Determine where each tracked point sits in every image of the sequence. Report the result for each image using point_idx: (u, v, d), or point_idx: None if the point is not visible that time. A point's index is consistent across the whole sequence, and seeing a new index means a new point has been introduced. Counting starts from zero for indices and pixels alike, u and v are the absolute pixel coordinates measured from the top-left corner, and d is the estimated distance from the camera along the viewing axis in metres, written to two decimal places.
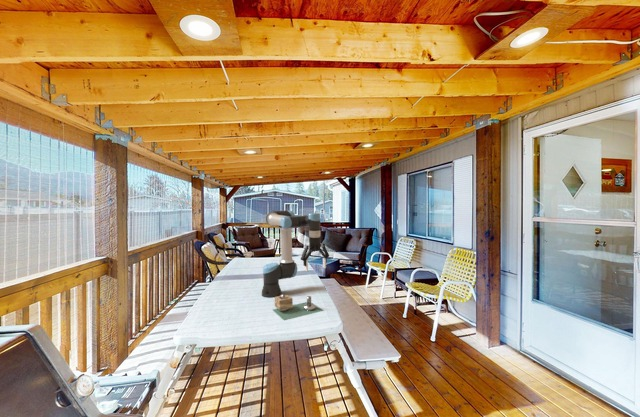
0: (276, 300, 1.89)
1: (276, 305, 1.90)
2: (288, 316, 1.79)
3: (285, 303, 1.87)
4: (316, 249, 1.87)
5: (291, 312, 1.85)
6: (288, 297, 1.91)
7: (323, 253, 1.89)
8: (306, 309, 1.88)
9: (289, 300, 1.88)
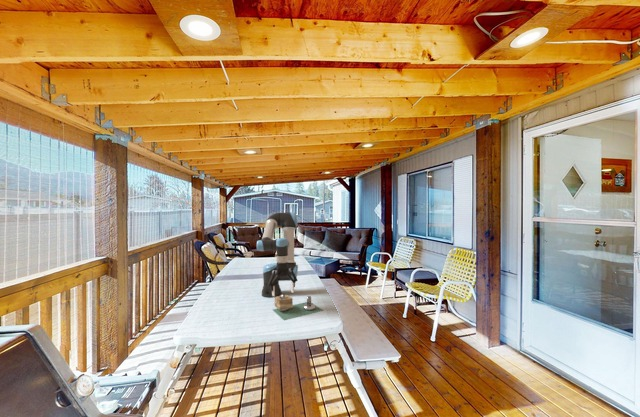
0: (276, 300, 1.89)
1: (276, 305, 1.90)
2: (288, 316, 1.79)
3: (285, 303, 1.87)
4: (283, 274, 1.89)
5: (291, 312, 1.85)
6: (288, 297, 1.91)
7: (291, 278, 1.92)
8: (306, 309, 1.88)
9: (289, 300, 1.88)
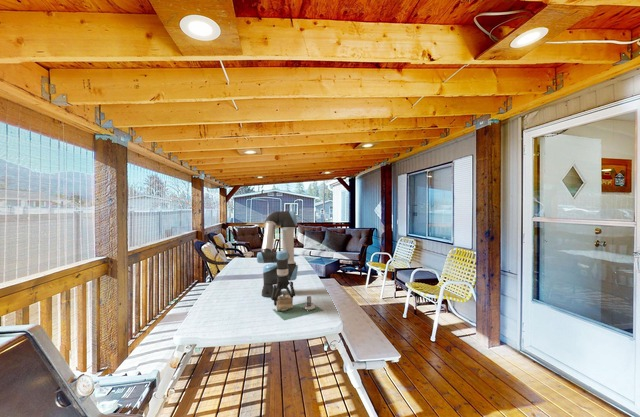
0: None
1: None
2: (288, 316, 1.79)
3: (285, 303, 1.87)
4: (284, 287, 1.90)
5: (291, 312, 1.85)
6: (288, 297, 1.91)
7: (290, 292, 1.92)
8: (306, 309, 1.88)
9: (289, 300, 1.88)
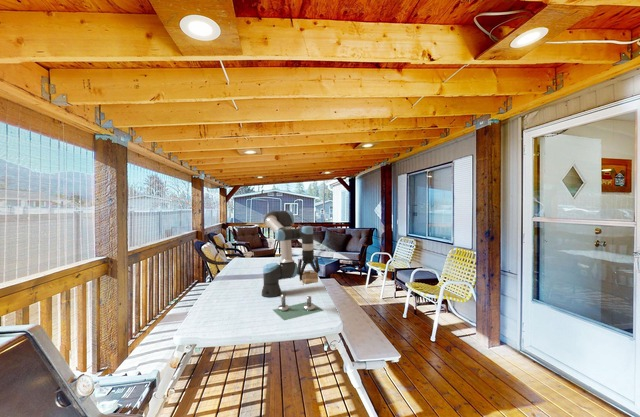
0: None
1: None
2: (288, 316, 1.79)
3: (311, 278, 1.87)
4: (309, 262, 1.90)
5: (291, 312, 1.85)
6: (313, 272, 1.91)
7: (315, 267, 1.92)
8: (306, 309, 1.88)
9: (315, 275, 1.88)
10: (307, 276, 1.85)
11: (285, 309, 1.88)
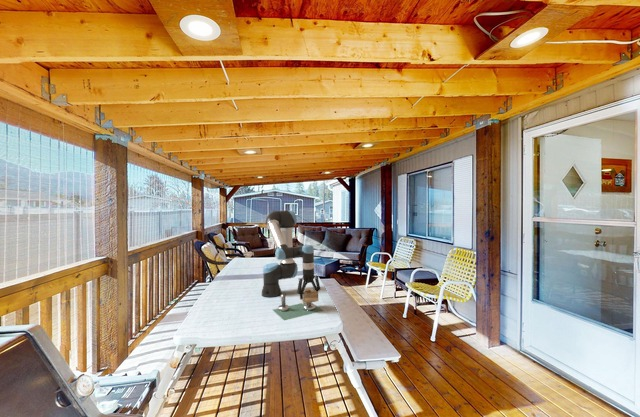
0: None
1: None
2: (288, 316, 1.79)
3: (311, 297, 1.87)
4: (310, 280, 1.90)
5: (291, 312, 1.85)
6: (314, 291, 1.91)
7: (315, 286, 1.92)
8: (306, 309, 1.88)
9: (315, 294, 1.88)
10: (307, 295, 1.86)
11: (285, 309, 1.88)
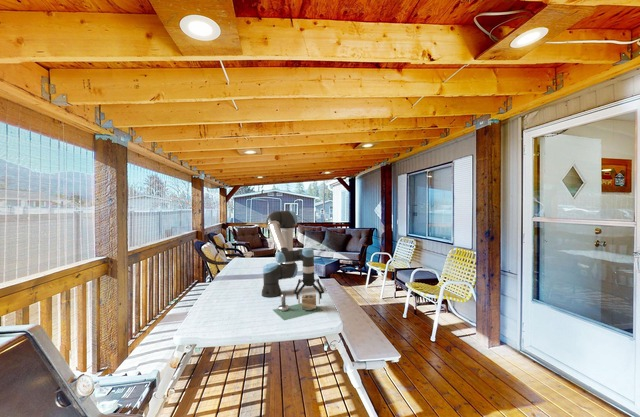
0: (302, 298, 1.92)
1: None
2: (288, 316, 1.79)
3: (308, 303, 1.87)
4: (309, 284, 1.90)
5: (291, 312, 1.85)
6: (313, 297, 1.90)
7: (317, 289, 1.90)
8: (306, 309, 1.88)
9: (312, 300, 1.87)
10: (303, 300, 1.87)
11: (285, 309, 1.88)
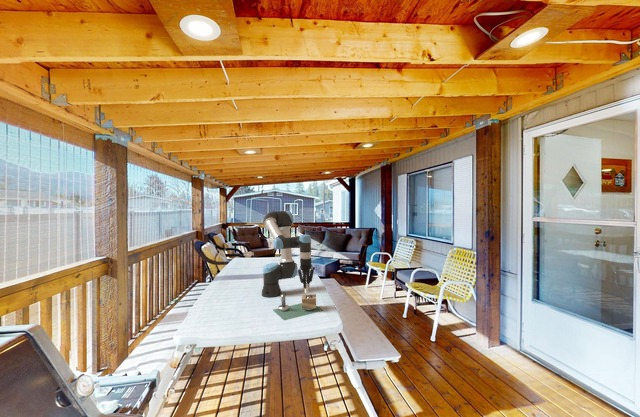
0: (302, 298, 1.92)
1: None
2: (288, 316, 1.79)
3: (308, 303, 1.87)
4: (307, 270, 1.93)
5: (291, 312, 1.85)
6: (313, 297, 1.90)
7: (308, 277, 1.94)
8: (306, 309, 1.88)
9: (312, 300, 1.87)
10: (303, 300, 1.87)
11: (285, 309, 1.88)
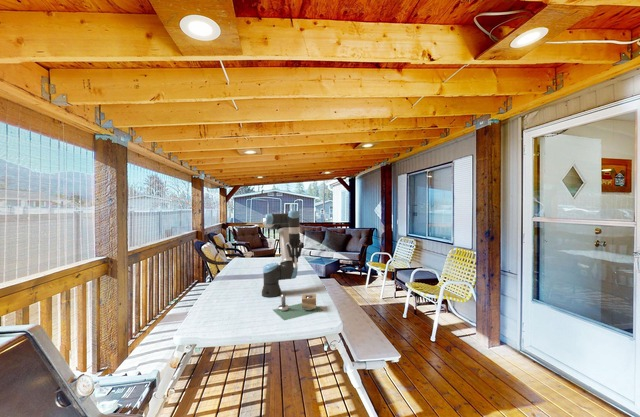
0: (302, 298, 1.92)
1: None
2: (288, 316, 1.79)
3: (308, 303, 1.87)
4: (295, 245, 1.98)
5: (291, 312, 1.85)
6: (313, 297, 1.90)
7: (297, 251, 1.98)
8: (306, 309, 1.88)
9: (312, 300, 1.87)
10: (303, 300, 1.87)
11: (285, 309, 1.88)
